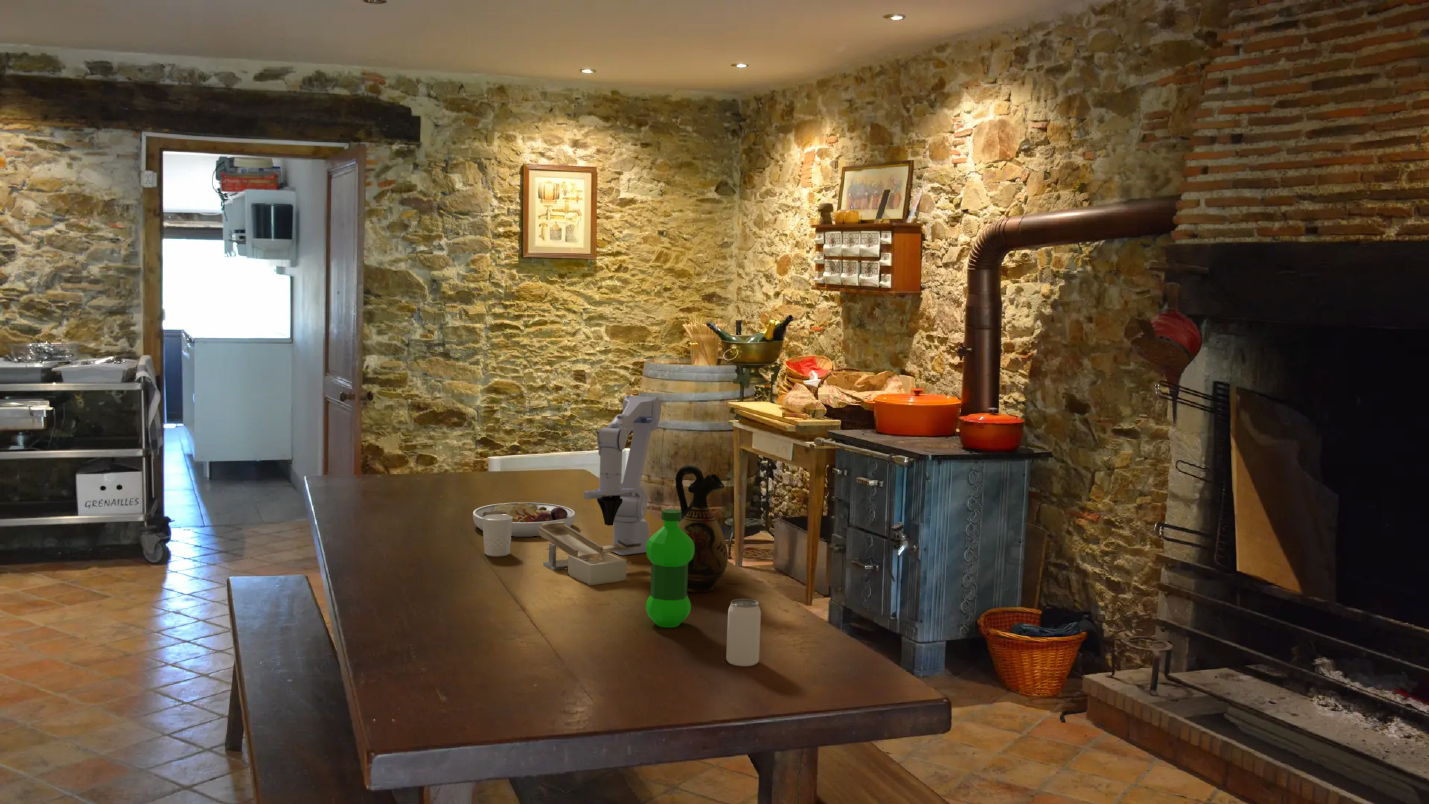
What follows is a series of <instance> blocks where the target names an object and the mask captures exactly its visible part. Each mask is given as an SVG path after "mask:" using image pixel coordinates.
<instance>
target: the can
mask: <svg viewBox="0 0 1429 804" xmlns="http://www.w3.org/2000/svg"><path fill="white" fill-rule="evenodd" d="M759 605H760V603H759V601H757V600H755V599H750V598H736V599H732V600H731V601H730V605H729V607H728V609H727V626H726V628H727V631H726V655H725V656H726V657H725V659H726V661H727V662H728V664H729V665H731V666H735V667H740V668H745V667H746V668H747V667H748V668H749V667H753V666H756V665H757V664H758V663H759V661H760V641H761V638H760V637H761V618H762V617H761V616H762V615H761V614H762V613H761V612H762V611H761V608H760V606H759Z"/></svg>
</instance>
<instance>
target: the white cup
mask: <svg viewBox="0 0 1429 804" xmlns="http://www.w3.org/2000/svg"><path fill="white" fill-rule="evenodd" d="M512 520H513V517H512V516H510V515H504V514H492V515H486V516H483V530H482V535H483V538H482V539H483V547H484V549H483V550H484V551H483V553H484V555H485V554H486V556H488V557H504V556H509V555H510V553H511V543H512V537H511V536H512Z"/></svg>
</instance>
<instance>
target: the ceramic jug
mask: <svg viewBox="0 0 1429 804" xmlns="http://www.w3.org/2000/svg"><path fill="white" fill-rule="evenodd" d="M687 475H693V476H695V480H694V481H692V483H691V484H690V485H689V486H688V489H687V490H688V492H689V493H692V494H693V497H692V500H691V502H690V504H689V506H688V501H687V498H686V494H685V489H684V484H683V480H684V476H687ZM724 488H725V484H724V483H723V482H722V481H721V479H720V477H719V476H718V475H716V474H715V473H711V474H707V475H706V476H705V477H704V474H703V472H702V470H701V469H700V468H699V467H697V466H694V465H692V464H686V465H684V466H681V467H680V468H679V469H678V470H677V472H676V475H675V491H676V493H677V497H678V500H679V506H680V511H682V512H681V520H680V521H679V526H678V527H679V528H680V529H682V530H683V531H684V532H685V533H686V534H687V535H688V536H689V537H690V538H691V539H692V540H693V543H694V546H695V551H694V556H693V558H692V559H691V560H690V562H689V563H688V580H687V593H688V592H690V593H693V594H701V593H711V592H712V591H714V589H715V585H716V583H717V582H718V581H719V580H720V578H721V577H722V576H723V574H724V573H725V571H726V569H727V566H728V560H729V559H728V558H729V555H728V554H729V553H728V548H727V541H726V538H725V535H724V533H723V531H722V528H721V526H720V524H719V523H718V521H717V519H716V517H715V515H714V514H713V512H712V511H711V508H710V506H709V505H708V501H707V500H708V499H707V497H708V496H709V494H710V493H713V492H716V491H720V490H722V489H724Z"/></svg>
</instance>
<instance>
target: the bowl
mask: <svg viewBox="0 0 1429 804" xmlns="http://www.w3.org/2000/svg"><path fill="white" fill-rule="evenodd" d="M492 514H504V515H510V516H512V517H513V520H512V536H514V537H513V538H515V537H516V538H530V537H531V538H533V536H537V537H541V536H540V535H538V531H539V527H542V524H544V523H554V522H565V523H564V525H565V524H566V525H567V526H569V527H572V525H573V524H574V523H575V522H574V521H575V519H576V512H575V511H574V509H571V508H570V507H567V506H563V505H558V504H552V503H541V502H527V501H519V502H506V503H495V504H489V505H485V506H480V507H478V508H475V509H474V510H473V512H472V519H473V522H474V524H475V526H476V527H477V528H478V529H480V530H481V531H483V516H486V515H492Z"/></svg>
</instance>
